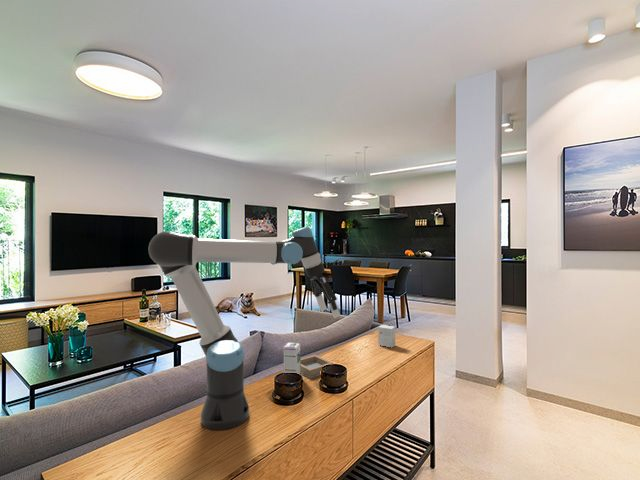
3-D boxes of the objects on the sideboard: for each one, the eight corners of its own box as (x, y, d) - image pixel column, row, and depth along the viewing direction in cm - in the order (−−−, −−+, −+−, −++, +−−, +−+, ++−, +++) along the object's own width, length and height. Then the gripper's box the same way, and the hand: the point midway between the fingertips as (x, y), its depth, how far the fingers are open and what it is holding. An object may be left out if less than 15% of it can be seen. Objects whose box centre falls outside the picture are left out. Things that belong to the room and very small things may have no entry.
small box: (395, 345, 178) (395, 326, 178) (392, 348, 173) (392, 328, 173) (381, 343, 182) (381, 324, 182) (378, 346, 177) (378, 326, 177)
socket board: (309, 378, 136) (309, 371, 136) (290, 368, 147) (290, 361, 147) (334, 370, 144) (334, 363, 144) (315, 360, 155) (315, 354, 155)
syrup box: (297, 383, 132) (297, 347, 132) (283, 381, 133) (283, 346, 133) (300, 377, 137) (300, 342, 137) (287, 376, 138) (287, 342, 138)
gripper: (333, 263, 120) (351, 315, 122) (310, 260, 143) (326, 304, 145) (315, 271, 117) (334, 324, 120) (295, 266, 140) (311, 311, 143)
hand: (330, 313), depth 132 cm, fingers open, 13 cm apart
